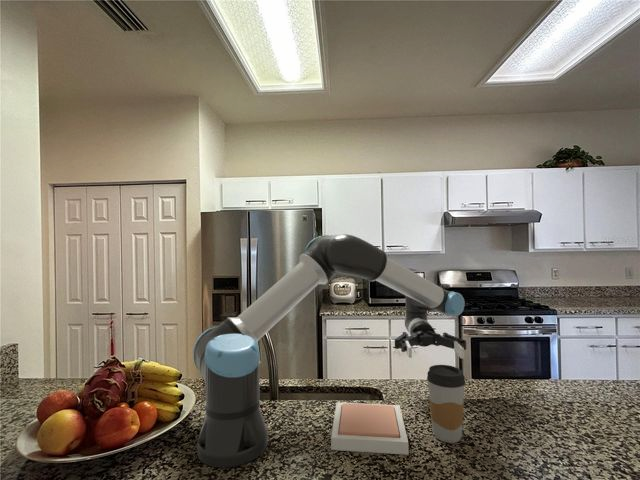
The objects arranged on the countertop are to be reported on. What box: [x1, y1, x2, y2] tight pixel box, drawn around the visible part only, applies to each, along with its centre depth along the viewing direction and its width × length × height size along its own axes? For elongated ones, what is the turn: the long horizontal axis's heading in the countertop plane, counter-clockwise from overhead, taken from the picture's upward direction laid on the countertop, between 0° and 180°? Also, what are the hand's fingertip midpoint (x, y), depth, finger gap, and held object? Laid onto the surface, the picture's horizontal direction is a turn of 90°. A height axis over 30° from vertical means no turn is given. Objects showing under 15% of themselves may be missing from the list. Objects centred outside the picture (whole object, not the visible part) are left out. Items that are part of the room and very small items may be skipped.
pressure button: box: [339, 402, 399, 438], centre depth 79 cm, size 13×13×1 cm
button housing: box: [330, 401, 410, 455], centre depth 79 cm, size 16×16×3 cm
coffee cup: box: [426, 364, 466, 444], centre depth 77 cm, size 8×8×15 cm
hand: (436, 353), depth 89 cm, fingers open, 13 cm apart
